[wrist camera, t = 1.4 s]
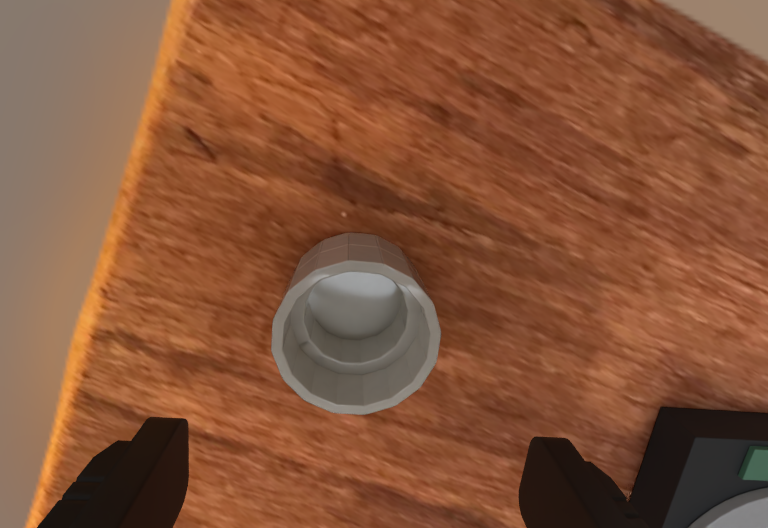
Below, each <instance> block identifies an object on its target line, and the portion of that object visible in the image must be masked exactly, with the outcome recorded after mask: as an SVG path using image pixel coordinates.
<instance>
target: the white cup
mask: <svg viewBox="0 0 768 528" xmlns="http://www.w3.org/2000/svg"><path fill="white" fill-rule="evenodd" d="M440 338H441V329H440V325H439V321H438V318H437V314H436V310H435V306H434V303H433V301H432V299H431V297H430V295H429V293H428V291H427V289H426V287H425V285H424V283H423V282H422V280H421V278H420V276H419V274H418V272H417V270H416V268H415V266H414V265H413V263H412V262H411V261H410V260H409V258H408V257H407V256H406V255H405V253H404V252H403V251H402V250H401V249H400V248H399V247H398V246H396V245H394V244H392V243H390V242H389V241H387V240H385V239H383V238H381V237H379V236H377V235H376V236H375V235H372V234H362V233H352V232H350V233H344V234H341V235H337V236H334V237H331V238H327V239H324V240H323V241H320V242H319V243H318V244H317V245H315V246H314V247H313V248H312V249H311V250H309V251H308V252H307V253H306V254H304V255H303V256H302V257H301V258H300V260H299V262H298V264H297V266H296V268H295V270H294V272H293V274H292V276H291V278H290V280H289V282H288V285H287V287H286V289H285V292H284V294H283V297H282V299H281V301H280V304H279V306H278V309H277V311H276V313H275V316H274V318H273V324H272V344H271V350H272V354H273V357H274V359H275V362H276V364H277V366H278V369H279V371H280V374H281V376H282V378H283V380H284V381H285V382H286V383H287V384H288V385H289V386H290V387H291V388H292V389H293V390H294V391H295V392H296V393H297V394H298V395H299V396H300V397H301V398H302V399H303V400H305V401H306V402H309V403H311V404H313V405H316V406H318V407H320V408H323V409H325V410H327V411H330V412H332V413H333V412H334V413H342V414H360V415H364V414H369V413H373V412H376V411H380V410H383V409H387V408H390V407H393V406H395V405H397V404H399V403H400V402H401V401H403V400H404V399H405V398H407V397H408V396H410V395H411V394H412V393H414V392H415V391H416V390H418V389H419V388H420V387H421V386H422V384H423V383H424V381H425V379H426V378H427V376H428V375H429V373H430V372H431V370H432V368H433V367H434V365H435V364H436V361H437V356H438V350H439V344H440Z"/></svg>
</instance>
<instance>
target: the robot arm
mask: <svg viewBox="0 0 768 528" xmlns="http://www.w3.org/2000/svg"><path fill="white" fill-rule="evenodd" d="M188 478H189V447H188V422H187V420H186V419H183V418H162V417H150V418H148V419H147V420H146V421H145V423H144V424H143V425H142V427H141V428H140V429H139V431H138V432H137V434H136V435H135V436H134V438H133V439H132V441H119V440H118V441H116V442H115V443H113V444H112V445H110V446H109V447H108V448H106V449H105V450H103V451H102V452H100V453H99V454H97V455H96V456H95V457H93V459H92V460H91V461H90V462H89V463H88V465H87V466H86V467H85V468H84V470H83V471H82V472H81V473H80V475H79V476H78V477H77V480H76V482H73V483H72V485H71V486H70V487H69V488H68V490H67V491H66V492H65V493H64V495H63V498H62V500H59V501H58V502H57V503H56V505H55V506H54V507H53V508H52V510H51V511H50V512H49V513H48V515H47V516H46V517H45V518H44V520H43V521H42V522H41V523H40V524H39V526H38V527H37V528H173V526H174V523H175V521H176V519H177V517H178V515H179V512H180V510H181V508H182V505H183V503H184V499H185V496H186V491H187V486H188ZM519 506H520V511H521V515H522V518H523V520H524V522H525V525H526V527H527V528H649V526H648V525H647V524H646V522H645V521H644V520H643V519H642V518H640V517H639V513H638V512H637V511H636V509H635V508H634V507H633V506H632V504H631V503H630V502H627V500H626V497H625V495H624V494H623V493H622V491H621V490H620V489H619V488H618V486H617V485H616V484H615V482H614V481H613V480H612V479H611V478H610V477H609V476H608V475H606V474H605V473H604V472H603V471H601V470H600V469H599V468H598V467H596V466H595V465H594V464H593V463H591V462H586V461H584V459H583V458H582V456H581V455H580V454H579V452H578V451H577V450H576V448H575V447H574V446H573V444H572V443H571V442H570V441H569V440H568V439H566V438H555V437H534V438H533V439H532V440H531V442H530V445H529V449H528V454H527V458H526V462H525V466H524V471H523V475H522V479H521V483H520V488H519Z"/></svg>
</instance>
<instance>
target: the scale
mask: <svg viewBox="0 0 768 528" xmlns="http://www.w3.org/2000/svg"><path fill="white" fill-rule="evenodd" d="M629 502H630V503H631V504H632V506H633V507H634V508H635V509H636V511H637V512H638V513H639V517H640V518H642V519H643V520H644V521H645V522H646V524H647V525H648V526H649V528H768V414H767V413H751V412H734V411H718V410H701V409H685V408H668V407H661V409H660V412H659V415H658V418H657V421H656V424H655V427H654V430H653V433H652V436H651V439H650V442H649V445H648V448H647V451H646V454H645V457H644V460H643V463H642V465H641V468H640V471H639V474H638V477H637V480H636V483H635V486H634V489H633V492H632V495H631V498H630V501H629Z"/></svg>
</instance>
